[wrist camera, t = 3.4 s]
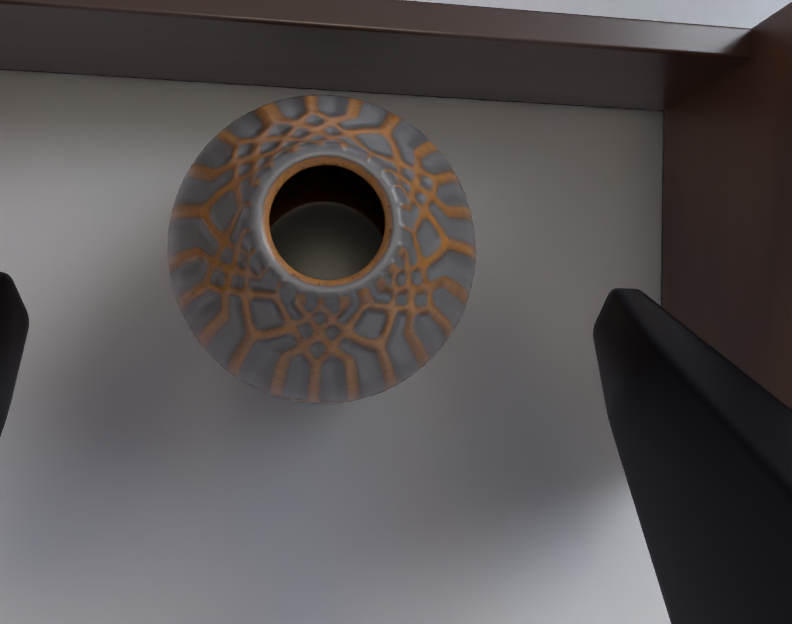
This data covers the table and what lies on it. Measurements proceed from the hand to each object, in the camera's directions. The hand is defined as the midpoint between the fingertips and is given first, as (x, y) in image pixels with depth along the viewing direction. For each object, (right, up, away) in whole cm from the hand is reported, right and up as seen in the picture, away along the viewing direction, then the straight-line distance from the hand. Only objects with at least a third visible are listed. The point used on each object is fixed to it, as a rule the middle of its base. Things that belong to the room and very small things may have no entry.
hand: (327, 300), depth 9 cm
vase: (-1, +1, +9) cm, 9 cm away
